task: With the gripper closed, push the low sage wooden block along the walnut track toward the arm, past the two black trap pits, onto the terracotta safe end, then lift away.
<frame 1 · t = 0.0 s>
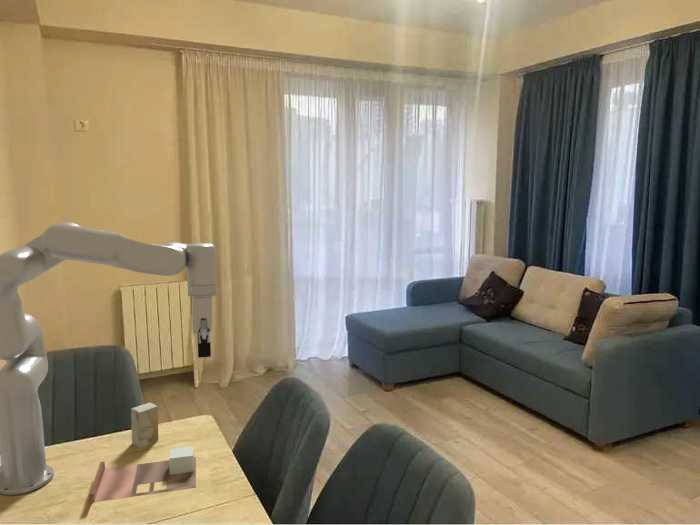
hand: (204, 351, 141), 31 cm above the table, tool pointing down, fingers open, 9 cm apart
skincare box: (145, 447, 151), on the table
sage block: (182, 468, 137), point 1 cm above the table, touching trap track
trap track: (147, 483, 133), on the table
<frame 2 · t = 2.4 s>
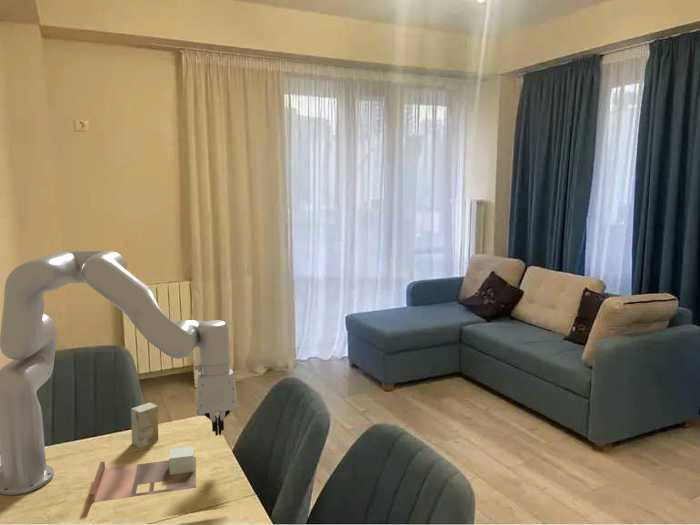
hand: (218, 432, 138), 10 cm above the table, tool pointing down, fingers closed
nothing on the table moved.
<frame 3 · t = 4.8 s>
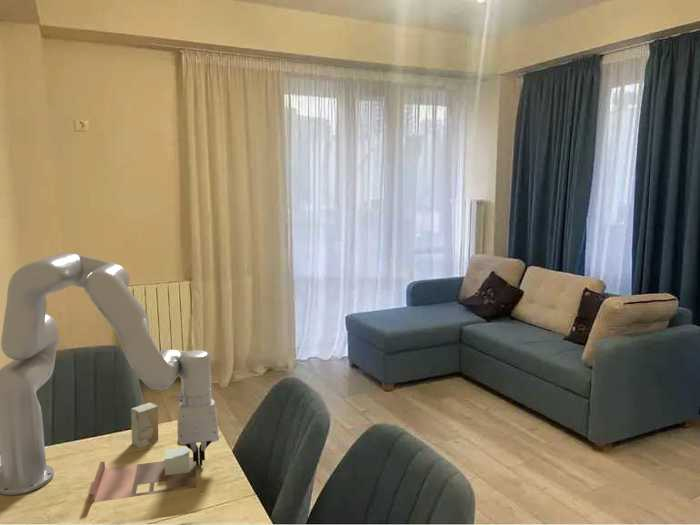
hand: (199, 462, 138), 2 cm above the table, tool pointing down, fingers closed
sage block: (177, 468, 137), point 2 cm above the table
everything else where it was.
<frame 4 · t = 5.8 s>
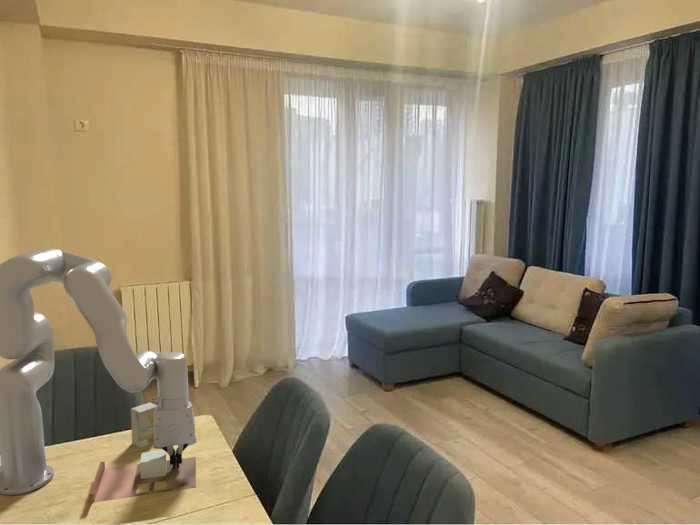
hand: (176, 466, 137), 2 cm above the table, tool pointing down, fingers closed
sage block: (154, 472, 135), point 1 cm above the table, touching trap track
everything else where it was.
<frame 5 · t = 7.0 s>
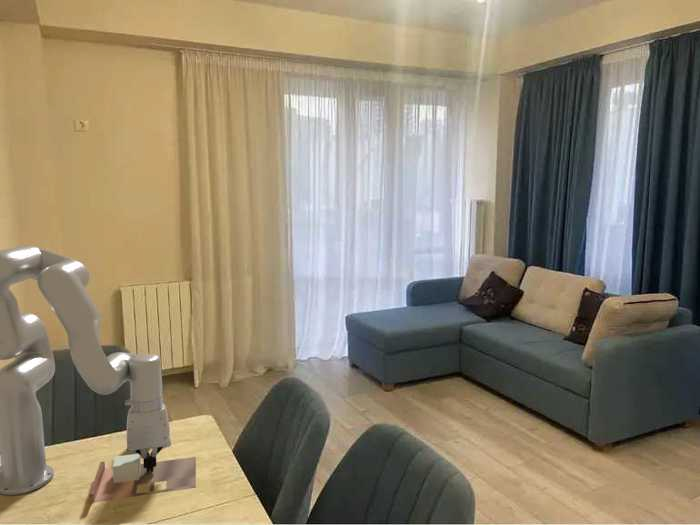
hand: (150, 469, 135), 2 cm above the table, tool pointing down, fingers closed
sage block: (127, 476, 133), point 1 cm above the table, touching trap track
everything else where it was.
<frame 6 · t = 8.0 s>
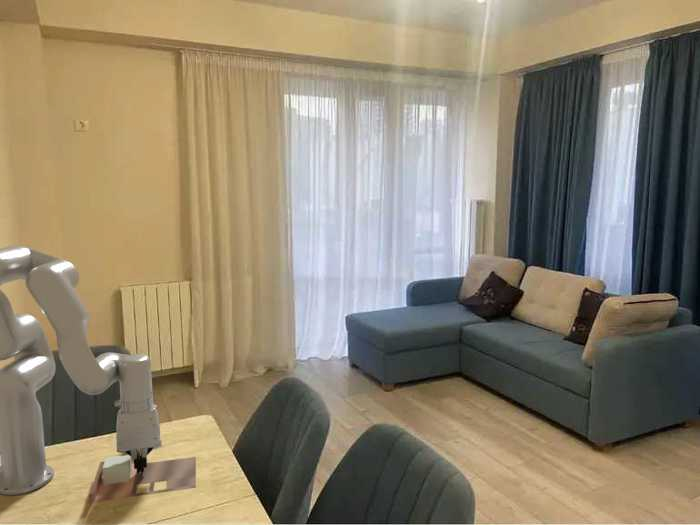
hand: (140, 470, 134), 2 cm above the table, tool pointing down, fingers closed
sage block: (118, 477, 132), point 2 cm above the table, touching gripper
everything else where it was.
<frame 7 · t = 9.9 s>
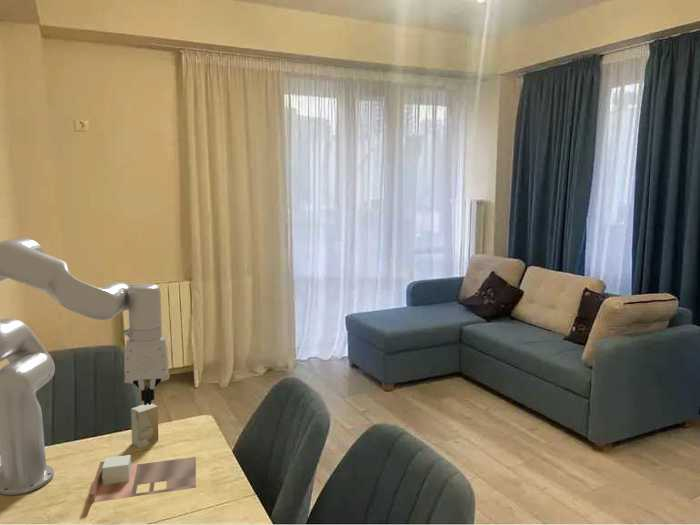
hand: (148, 402, 132), 21 cm above the table, tool pointing down, fingers closed
sage block: (117, 477, 132), point 1 cm above the table, touching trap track
everything else where it was.
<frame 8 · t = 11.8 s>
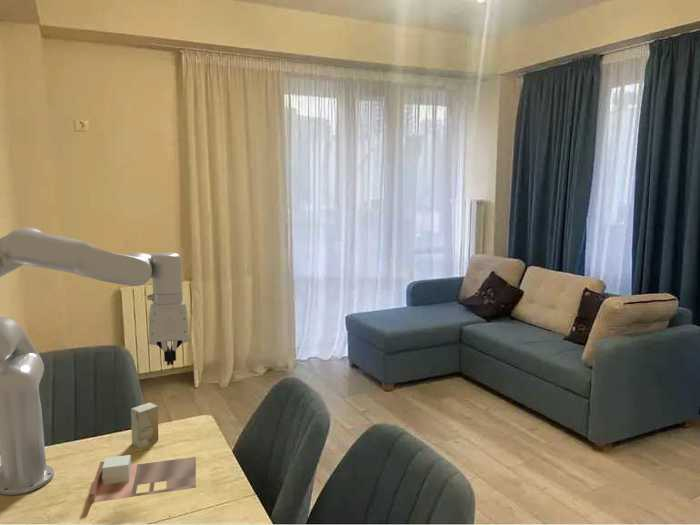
hand: (170, 363, 143), 27 cm above the table, tool pointing down, fingers closed
nothing on the table moved.
at the end: sage block inside the target area (0.8 cm from its centre), point 1.5 cm above the table; sage block tilted 0°; sage block moved 15.7 cm from its start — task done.
